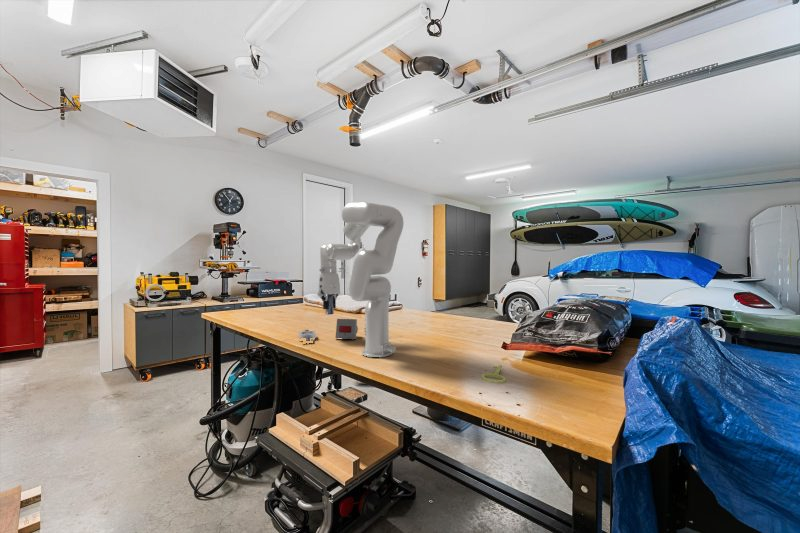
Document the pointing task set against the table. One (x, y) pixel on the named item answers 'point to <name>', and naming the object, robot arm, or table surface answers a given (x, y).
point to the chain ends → (307, 335)
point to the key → (494, 375)
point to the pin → (330, 305)
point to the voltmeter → (346, 328)
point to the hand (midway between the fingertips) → (329, 308)
